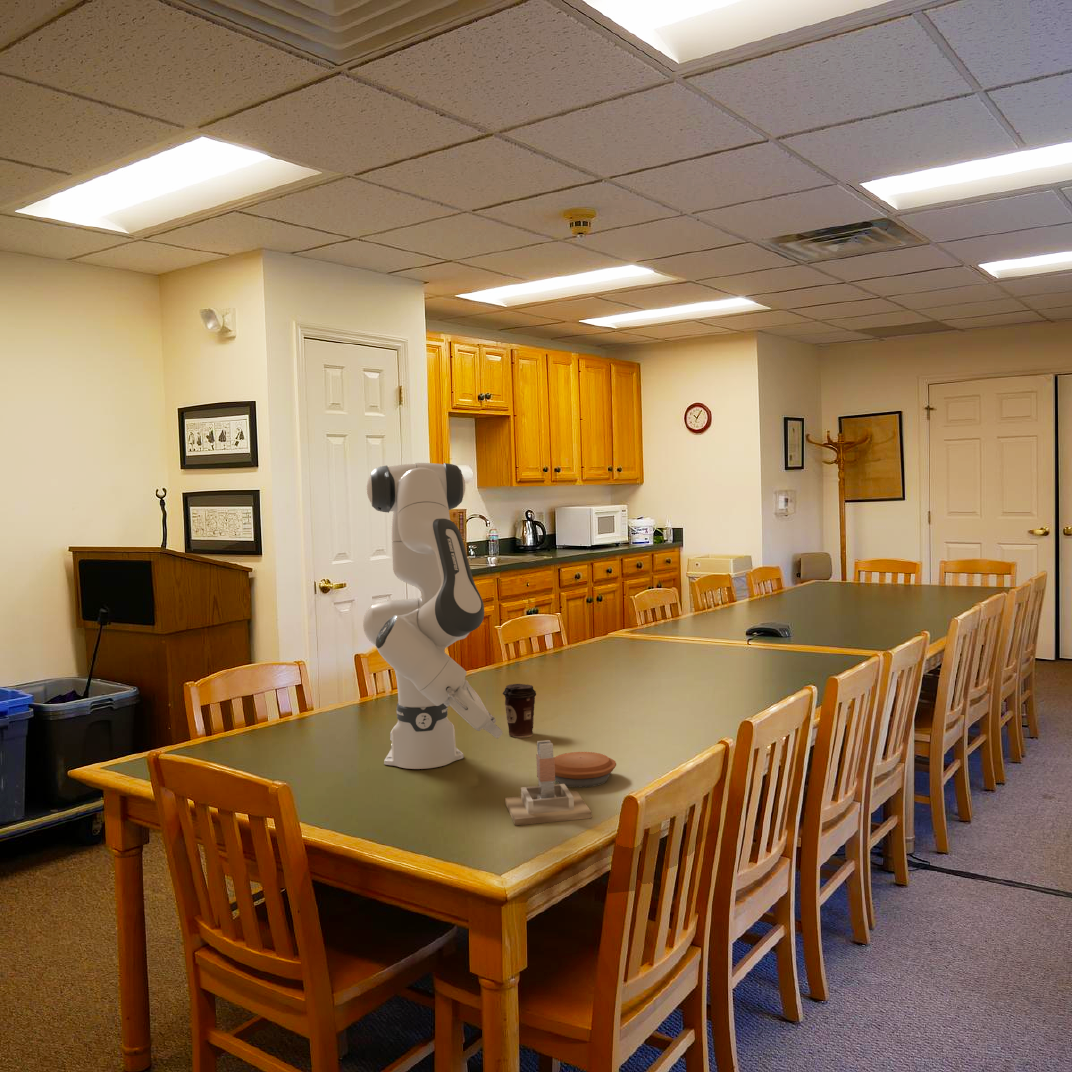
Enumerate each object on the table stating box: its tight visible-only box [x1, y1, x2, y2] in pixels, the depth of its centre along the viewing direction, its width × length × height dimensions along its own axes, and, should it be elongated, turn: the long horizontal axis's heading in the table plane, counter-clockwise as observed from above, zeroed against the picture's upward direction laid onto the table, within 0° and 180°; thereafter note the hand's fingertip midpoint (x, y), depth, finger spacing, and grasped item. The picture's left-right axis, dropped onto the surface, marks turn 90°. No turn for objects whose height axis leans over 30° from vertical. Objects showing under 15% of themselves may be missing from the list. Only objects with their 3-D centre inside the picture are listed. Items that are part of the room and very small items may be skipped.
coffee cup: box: [502, 683, 537, 739], centre depth 248 cm, size 9×8×13 cm
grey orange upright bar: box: [535, 739, 556, 799], centre depth 189 cm, size 4×4×12 cm
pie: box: [553, 751, 617, 788], centre depth 209 cm, size 15×16×5 cm
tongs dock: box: [504, 783, 592, 826], centre depth 189 cm, size 13×15×4 cm
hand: (496, 728), depth 187 cm, fingers open, 8 cm apart
